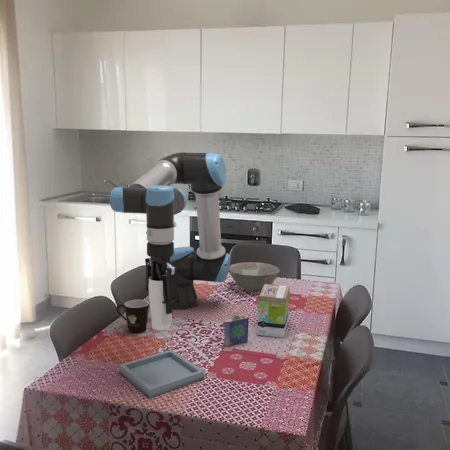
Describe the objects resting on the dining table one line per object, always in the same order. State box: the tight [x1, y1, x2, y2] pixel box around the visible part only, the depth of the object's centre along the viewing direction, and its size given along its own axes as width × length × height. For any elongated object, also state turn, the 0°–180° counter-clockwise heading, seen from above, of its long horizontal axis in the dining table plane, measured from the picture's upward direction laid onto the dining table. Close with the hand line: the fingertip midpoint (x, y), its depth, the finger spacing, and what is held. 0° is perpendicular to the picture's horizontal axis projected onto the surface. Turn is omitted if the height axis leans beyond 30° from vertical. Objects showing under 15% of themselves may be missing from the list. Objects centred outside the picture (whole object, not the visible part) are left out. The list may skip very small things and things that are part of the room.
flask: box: [223, 312, 250, 348], centre depth 170 cm, size 9×3×11 cm, turn 121°
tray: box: [119, 349, 205, 399], centre depth 147 cm, size 18×18×2 cm
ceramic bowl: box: [228, 261, 280, 293], centre depth 227 cm, size 22×23×10 cm
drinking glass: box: [148, 275, 171, 332], centre depth 143 cm, size 7×7×15 cm
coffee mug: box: [116, 299, 150, 335], centre depth 181 cm, size 12×9×10 cm
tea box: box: [256, 284, 291, 338], centre depth 182 cm, size 15×10×15 cm
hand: (161, 319), depth 144 cm, fingers closed on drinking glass, 6 cm apart
